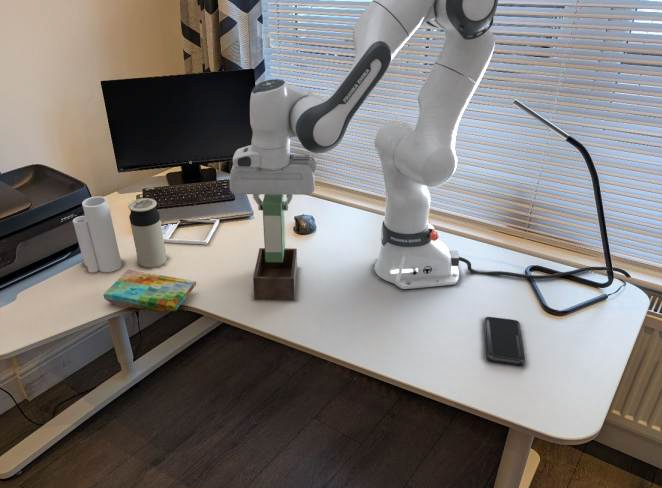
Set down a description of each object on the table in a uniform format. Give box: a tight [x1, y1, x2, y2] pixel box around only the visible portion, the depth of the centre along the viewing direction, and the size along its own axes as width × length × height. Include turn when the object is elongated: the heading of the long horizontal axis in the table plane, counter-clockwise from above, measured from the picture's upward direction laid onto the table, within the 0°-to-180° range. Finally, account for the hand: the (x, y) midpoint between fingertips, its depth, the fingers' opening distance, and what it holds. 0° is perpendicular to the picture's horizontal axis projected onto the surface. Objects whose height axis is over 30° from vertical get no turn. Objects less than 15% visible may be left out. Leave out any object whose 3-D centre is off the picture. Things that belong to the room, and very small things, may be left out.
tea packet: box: [262, 194, 286, 262], centre depth 138 cm, size 4×16×9 cm
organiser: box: [252, 247, 298, 301], centre depth 146 cm, size 10×15×7 cm
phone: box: [483, 316, 526, 366], centre depth 126 cm, size 8×1×15 cm
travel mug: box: [127, 197, 168, 268], centre depth 154 cm, size 8×8×18 cm
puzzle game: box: [102, 269, 197, 314], centre depth 142 cm, size 12×5×20 cm
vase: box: [72, 195, 123, 274], centre depth 152 cm, size 11×7×20 cm, turn 82°
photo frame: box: [161, 218, 220, 246], centre depth 173 cm, size 15×1×18 cm
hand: (273, 209), depth 135 cm, fingers closed on tea packet, 4 cm apart
